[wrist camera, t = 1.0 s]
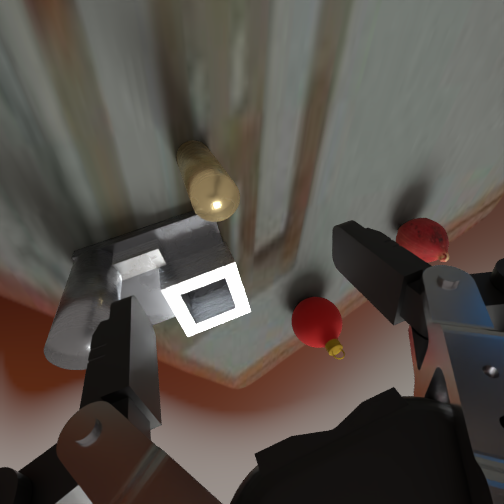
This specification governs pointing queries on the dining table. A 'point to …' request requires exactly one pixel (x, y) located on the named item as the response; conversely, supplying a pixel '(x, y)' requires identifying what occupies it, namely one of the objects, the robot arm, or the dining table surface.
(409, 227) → the onion
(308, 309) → the christmas ornament
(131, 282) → the grey desk organizer
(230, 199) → the gold cylinder
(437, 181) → the dining table surface
